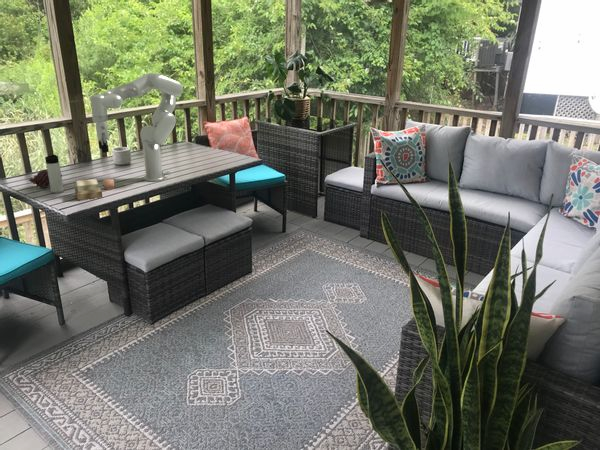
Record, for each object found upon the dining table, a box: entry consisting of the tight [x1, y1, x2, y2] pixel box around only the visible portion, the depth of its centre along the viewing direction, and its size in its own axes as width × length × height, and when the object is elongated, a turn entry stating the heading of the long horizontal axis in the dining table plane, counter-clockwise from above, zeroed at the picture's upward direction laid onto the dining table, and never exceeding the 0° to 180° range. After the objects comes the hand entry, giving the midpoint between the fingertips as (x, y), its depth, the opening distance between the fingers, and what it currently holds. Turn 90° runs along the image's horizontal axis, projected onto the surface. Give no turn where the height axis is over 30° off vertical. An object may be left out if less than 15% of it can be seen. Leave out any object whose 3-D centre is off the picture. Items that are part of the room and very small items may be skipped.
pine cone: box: [28, 169, 63, 189], centre depth 269 cm, size 18×10×10 cm, turn 139°
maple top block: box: [75, 178, 100, 193], centre depth 257 cm, size 10×10×4 cm
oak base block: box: [74, 185, 104, 202], centre depth 258 cm, size 12×12×4 cm
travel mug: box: [44, 154, 65, 195], centre depth 260 cm, size 6×7×20 cm
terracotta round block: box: [102, 177, 116, 191], centre depth 271 cm, size 6×6×5 cm
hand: (104, 150), depth 263 cm, fingers open, 9 cm apart
